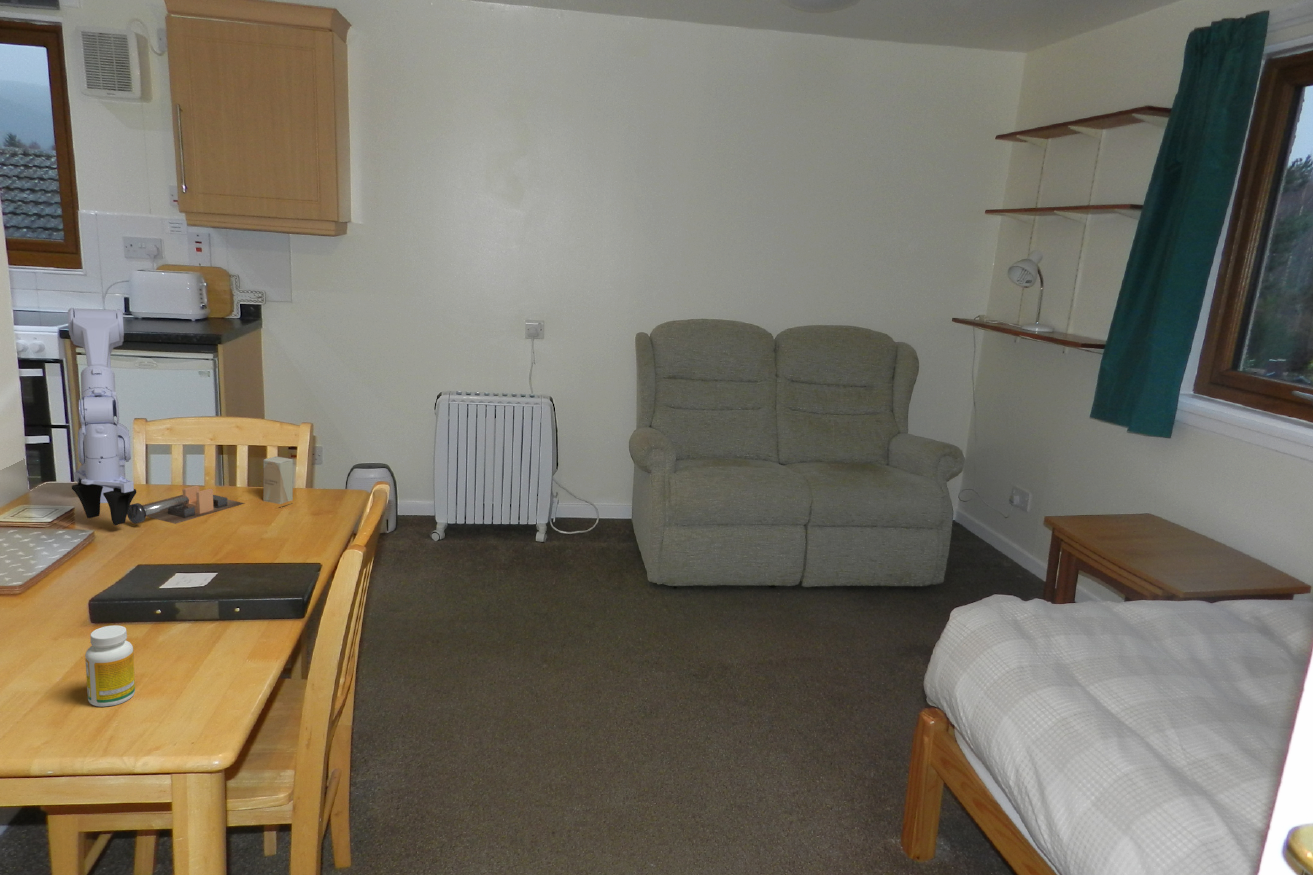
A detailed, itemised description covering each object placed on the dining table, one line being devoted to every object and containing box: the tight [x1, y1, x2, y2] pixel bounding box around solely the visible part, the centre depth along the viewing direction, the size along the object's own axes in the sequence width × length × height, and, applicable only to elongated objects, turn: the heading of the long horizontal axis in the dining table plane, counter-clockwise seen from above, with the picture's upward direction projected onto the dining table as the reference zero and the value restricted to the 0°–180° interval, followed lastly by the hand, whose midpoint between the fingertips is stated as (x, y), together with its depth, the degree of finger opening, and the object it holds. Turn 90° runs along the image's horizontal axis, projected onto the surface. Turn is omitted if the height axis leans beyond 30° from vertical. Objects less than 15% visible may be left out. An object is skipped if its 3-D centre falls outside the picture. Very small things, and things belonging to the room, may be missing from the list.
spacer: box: [182, 485, 214, 514], centre depth 186 cm, size 5×4×5 cm
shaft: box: [126, 496, 189, 524], centre depth 177 cm, size 4×12×4 cm, turn 158°
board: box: [141, 494, 246, 525], centre depth 188 cm, size 16×18×1 cm
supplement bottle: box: [84, 624, 136, 708], centre depth 112 cm, size 5×5×10 cm
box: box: [262, 456, 294, 509], centre depth 196 cm, size 5×4×11 cm
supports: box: [168, 494, 228, 518], centre depth 186 cm, size 5×11×2 cm, turn 158°
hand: (106, 520), depth 170 cm, fingers open, 7 cm apart
